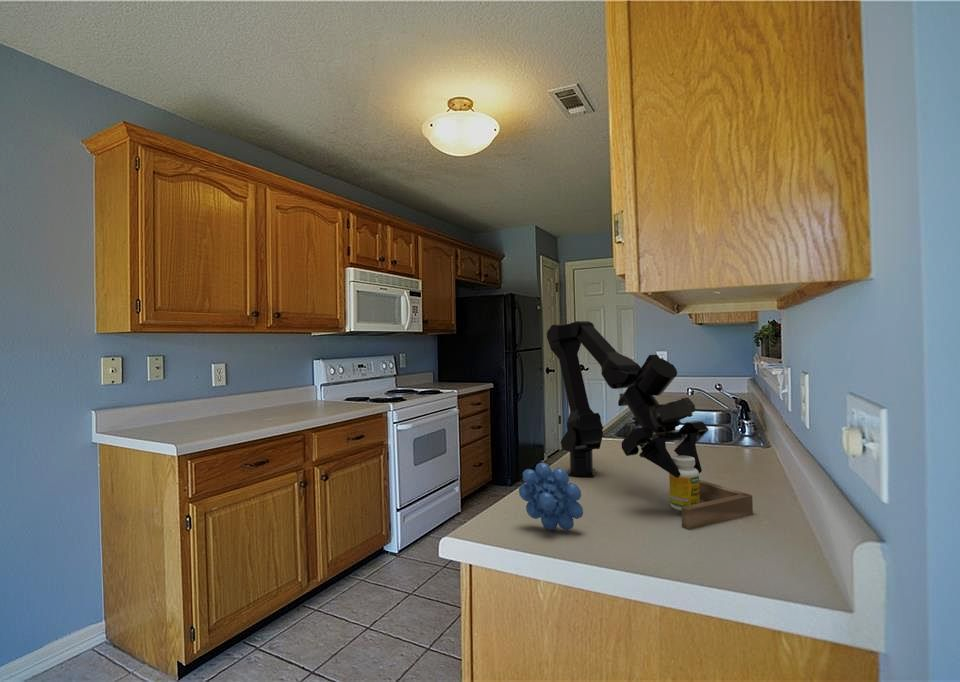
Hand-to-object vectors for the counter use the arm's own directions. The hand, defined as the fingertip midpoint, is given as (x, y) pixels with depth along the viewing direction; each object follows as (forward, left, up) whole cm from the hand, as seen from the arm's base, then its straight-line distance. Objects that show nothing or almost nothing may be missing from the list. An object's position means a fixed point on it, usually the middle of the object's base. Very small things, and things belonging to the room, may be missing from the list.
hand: (689, 474), depth 94 cm
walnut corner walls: (-4, 0, -8) cm, 9 cm away
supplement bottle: (-1, -1, -7) cm, 7 cm away
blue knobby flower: (+14, -25, -8) cm, 30 cm away
